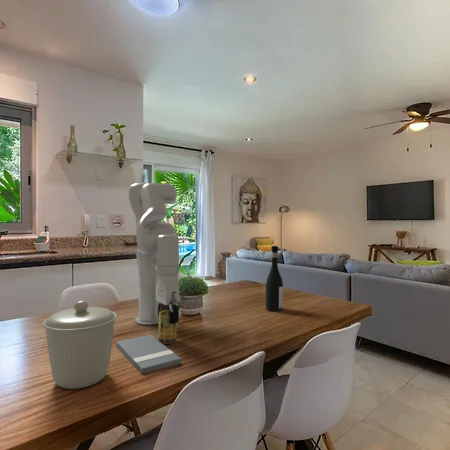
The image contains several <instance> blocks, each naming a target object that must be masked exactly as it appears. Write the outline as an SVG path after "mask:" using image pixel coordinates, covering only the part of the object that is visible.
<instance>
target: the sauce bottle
mask: <svg viewBox="0 0 450 450" xmlns="http://www.w3.org/2000/svg"><path fill="white" fill-rule="evenodd" d="M173 306H174V305H172V307H173ZM170 311H171V310H170V307H169V304H168V305H164V304H162V303H160V311H159V323H158V335H157V337H158V339H157V340H158V341H159V342H160V343H162V344H163V345H170V344H174V343H175V342H176V340H177V332H178V331H177V327H178V323H173V324H170Z"/></svg>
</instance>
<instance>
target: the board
mask: <svg viewBox="0 0 450 450" xmlns="http://www.w3.org/2000/svg"><path fill="white" fill-rule="evenodd" d="M158 340H159V339H157V338H155V337H154V336H153V335H152V334H147V335H142V336H137V337H132V338H127V339H123V340H118V341H116V343H115V345H116V348H117V349H118V350H119V351H120V352H121V353H122V354H123V356H125V357H126V359H128V361H129V362H130V363H131V364H132V365H133V366H134V367H135V368H136V369H137V371H138V372H139V373H140V374H141V375H143V374H146V373H147V374H148V373H150V372H154V371H158V370H162V369H165V368H170V367H173V366H177V365H180V364H182V358H181V357H180V356H179V355H177V354H176V353H175V352H174V351H173V350H171V349H169V347H167V346H166V345H165V344H162V343H160V342H159V341H158Z"/></svg>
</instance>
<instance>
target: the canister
mask: <svg viewBox="0 0 450 450" xmlns="http://www.w3.org/2000/svg"><path fill="white" fill-rule="evenodd" d="M117 319H118V314H117V313H116V312H115V311H112V310H111V309H109V308H107V307H102V306H89V303H88V302H87V301H86V300H78V301H76V302H75V303H74V304H73V307H72V308H66V309H63V310H60V311H57V312H54V313H52V314H51V315H50V316H49V317H47V318H45V319H44V320H43V321H42V323H41V325H42V327H43V328H44V329H45V334H46V342H47V343H46V344H47V350H48V358H49V365H50V371H51V376H52V379H53V382H54V383H55V384H56V385H57V386H58V387H60V388H63V389H68V390H74V389H75V390H76V389H77V390H78V389H83V388H87V387H90V386H93V385H95V384H98V383H99V382H100V381H103V379H104V378H105V376H106V375H107V373H108V371H109V366H110V362H111V354H112V348H113V338H114V331H115V329H114V328H115V321H116V320H117Z"/></svg>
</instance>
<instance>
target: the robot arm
mask: <svg viewBox="0 0 450 450" xmlns="http://www.w3.org/2000/svg"><path fill="white" fill-rule="evenodd" d="M128 200H129V204H130V207H131V210H132V212H133V214H134V216H135V222H136V223H135V224H136V228H135V229H136V230H135V233H136V234H135V236H136V241H137V243H136V244H137V246H138V248H137V251H136V262H137V270H138V315H137V316H135V318H134V322H135V323H136V324H139V325H147V326H149V325H150V326H151V325H152V326H153V325H157V324H158V325H159V311H160V303H162V304H164V305H168V304H169V307H170V310H171V311H170V324H173V323H177V324H178V323H179V321H180V310H181V302H182V300H181V298H180V285H179V284H180V283H179V282H180V281H179V274H180V238H179V236H178V235H177V234H176V230H175V227H174V225H173V224H172V223H171V222H170V223H169V222H164V221H163V220H164V219H165V218H166V217H167V213H168V212H167V208H166V205H173V204H175V202H176V200H177V190H176V188H175V186H174V185H173V184H172V183H159V182H149V183H148V182H136V183H133V184H131V185H129V188H128ZM161 221H163V222H161ZM172 305H174V306H173V307H172Z"/></svg>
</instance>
